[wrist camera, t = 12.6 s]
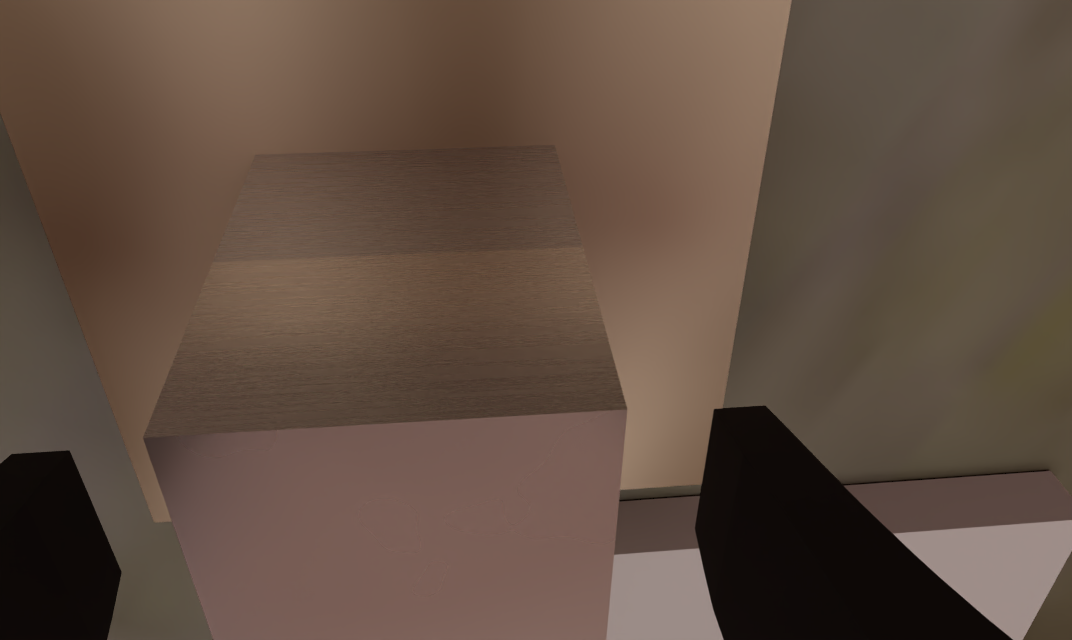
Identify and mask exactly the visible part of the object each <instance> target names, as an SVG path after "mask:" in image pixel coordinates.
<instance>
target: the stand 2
mask: <svg viewBox="0 0 1072 640" xmlns="http://www.w3.org/2000/svg"><path fill="white" fill-rule="evenodd" d="M844 487H845V488H846V489H847V490H848V491H849V492H850V493H851V494H852V495H853V496H854V497H855V498H856V499H857V500H858V501H859V502H860V503H861V504H862V505H864V506H865V507H866V508H867V509H868V510H869V511H870V512H871V513H872V514H873V515H874V516H875V517H876V518H877V519H878V520H879V521H880V522H881V523H882V524H883V525H884V526H885V527H886V528H887V529H888V530H890V531H891V532H892V533H893V534H894V535H895V536H896V537H897V538H898V539H899V540H900V541H901V542H902V543H903V544H904V545H905V546H906V547H907V548H908V549H909V550H911V551H912V552H913V553H914V554H915V555H916V556H917V557H918V558H919V559H920V560H921V561H922V562H923V563H925V564H926V565H927V566H928V567H929V568H930V569H931V570H932V571H933V572H934V573H936V574H937V575H938V576H939V577H940V578H941V579H942V580H943V581H944V582H946V583H947V584H948V585H949V586H950V587H951V588H953V589H954V590H955V591H956V592H957V593H958V594H960V595H961V596H962V597H963V598H964V599H965V600H966V601H968V602H969V603H970V604H971V605H972V606H973V607H975V608H976V609H977V610H978V611H979V612H980V613H981V614H983V615H984V616H985V617H986V618H987V619H989V620H990V621H991V622H992V623H993V624H995V625H996V626H997V627H998V628H999V629H1001V630H1002V631H1003V632H1004V633H1006V634H1007V635H1008V636H1009V637H1011V638H1012V639H1013V640H1023V638H1024V636H1025V634H1026V633H1027V631H1028V629H1029V627H1030V625H1031V624H1032V622H1033V620H1034V618H1035V616H1036V614H1037V613H1038V611H1039V609H1040V607H1041V605H1042V604H1043V602H1044V600H1045V598H1046V596H1047V595H1048V593H1049V591H1050V589H1051V587H1052V585H1053V584H1054V582H1055V580H1056V578H1057V576H1058V575H1059V573H1060V571H1061V569H1062V567H1063V565H1064V564H1065V562H1066V560H1067V558H1068V556H1069V555H1070V553H1071V551H1072V497H1071V495H1070V494H1069V493H1068V492H1067V490H1066V489H1065V488H1064V487H1063V485H1062V484H1061V483H1060V482H1059V480H1058V479H1057V478H1056V477H1055V475H1054V474H1053V473H1052V472H1051V471H1042V472H1028V473H1013V474H999V475H985V476H971V477H957V478H943V479H929V480H915V481H901V482H887V483H873V484H859V485H845V486H844ZM699 499H700V496H690V497H676V498H662V499H648V500H634V501H620V502H619V507H618V517H617V528H616V539H615V550H614V561H613V572H612V583H611V593H610V604H609V615H608V626H607V637H606V640H723V637H722V634H721V631H720V628H719V625H718V622H717V619H716V616H715V614H714V611H713V607H712V603H711V599H710V595H709V590H708V586H707V582H706V578H705V574H704V569H703V565H702V560H701V555H700V551H699V546H698V542H697V537H696V532H695V523H696V517H697V511H698V505H699Z"/></svg>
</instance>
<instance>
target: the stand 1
mask: <svg viewBox="0 0 1072 640" xmlns="http://www.w3.org/2000/svg"><path fill="white" fill-rule="evenodd" d="M791 1H792V0H0V114H1V116H2V119H3V122H4V124H5V127H6V130H7V132H8V135H9V138H10V140H11V143H12V146H13V148H14V151H15V154H16V156H17V159H18V161H19V164H20V167H21V169H22V172H23V175H24V177H25V180H26V183H27V185H28V188H29V191H30V193H31V196H32V199H33V201H34V204H35V207H36V209H37V212H38V215H39V217H40V220H41V223H42V225H43V228H44V231H45V233H46V236H47V239H48V241H49V244H50V247H51V249H52V252H53V255H54V257H55V260H56V263H57V265H58V268H59V271H60V273H61V276H62V279H63V281H64V284H65V286H66V289H67V292H68V294H69V297H70V300H71V302H72V305H73V308H74V310H75V313H76V316H77V318H78V321H79V324H80V326H81V329H82V332H83V334H84V337H85V340H86V342H87V345H88V348H89V350H90V353H91V356H92V358H93V361H94V364H95V366H96V369H97V372H98V374H99V377H100V380H101V382H102V385H103V388H104V390H105V393H106V396H107V398H108V401H109V404H110V406H111V409H112V411H113V414H114V417H115V419H116V422H117V425H118V427H119V430H120V433H121V435H122V438H123V441H124V443H125V446H126V449H127V451H128V454H129V457H130V459H131V462H132V465H133V467H134V470H135V473H136V475H137V478H138V481H139V483H140V486H141V489H142V491H143V494H144V497H145V499H146V502H147V505H148V507H149V510H150V513H151V515H152V518H153V521H154V523H156V522H170V521H172V520H171V517H170V514H169V511H168V508H167V506H166V503H165V500H164V497H163V494H162V491H161V488H160V486H159V483H158V480H157V477H156V474H155V471H154V468H153V466H152V463H151V460H150V457H149V454H148V451H147V448H146V445H145V443H144V440H143V436H144V434H145V431H146V429H147V426H148V424H149V421H150V419H151V416H152V413H153V411H154V408H155V406H156V403H157V401H158V398H159V396H160V393H161V391H162V388H163V386H164V383H165V381H166V378H167V376H168V373H169V371H170V368H171V366H172V363H173V361H174V358H175V356H176V353H177V351H178V348H179V346H180V343H181V341H182V338H183V336H184V333H185V331H186V328H187V326H188V323H189V320H190V318H191V315H192V313H193V310H194V308H195V305H196V303H197V300H198V298H199V295H200V293H201V290H202V288H203V285H204V283H205V280H206V278H207V275H208V273H209V270H210V268H211V265H212V263H213V260H214V258H215V255H216V253H217V250H218V248H219V245H220V243H221V240H222V238H223V235H224V233H225V230H226V228H227V225H228V222H229V220H230V217H231V215H232V212H233V210H234V207H235V205H236V202H237V200H238V197H239V195H240V192H241V190H242V187H243V185H244V182H245V180H246V177H247V175H248V172H249V170H250V167H251V165H252V162H253V160H254V157H255V155H262V154H293V153H324V152H354V151H385V150H416V149H446V148H477V147H508V146H539V145H555V147H556V151H557V154H558V158H559V162H560V165H561V169H562V173H563V176H564V180H565V184H566V187H567V191H568V195H569V198H570V202H571V206H572V209H573V213H574V216H575V220H576V224H577V227H578V231H579V235H580V238H581V242H582V246H583V249H584V253H585V257H586V260H587V264H588V268H589V271H590V275H591V278H592V282H593V286H594V289H595V293H596V297H597V300H598V304H599V308H600V311H601V315H602V319H603V322H604V326H605V329H606V333H607V337H608V340H609V344H610V348H611V351H612V355H613V359H614V362H615V366H616V370H617V373H618V377H619V381H620V384H621V388H622V391H623V395H624V399H625V402H626V406H627V420H626V431H625V441H624V452H623V463H622V474H621V485H620V490H627V489H641V488H655V487H669V486H684V485H698V484H702V480H703V474H704V467H705V461H706V455H707V449H708V443H709V436H710V430H711V424H712V418H713V411H714V409H720V408H723V402H724V396H725V390H726V384H727V378H728V373H729V367H730V361H731V355H732V349H733V343H734V337H735V331H736V325H737V319H738V314H739V308H740V302H741V296H742V290H743V284H744V278H745V272H746V266H747V260H748V255H749V249H750V243H751V237H752V231H753V225H754V219H755V213H756V207H757V202H758V196H759V190H760V184H761V178H762V172H763V166H764V160H765V154H766V148H767V143H768V137H769V131H770V125H771V119H772V113H773V107H774V101H775V95H776V90H777V84H778V78H779V72H780V66H781V60H782V54H783V48H784V42H785V36H786V31H787V25H788V19H789V13H790V7H791Z"/></svg>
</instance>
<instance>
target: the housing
mask: <svg viewBox="0 0 1072 640" xmlns="http://www.w3.org/2000/svg"><path fill="white" fill-rule="evenodd" d="M626 420H627V406H626V402H625V399H624V395H623V391H622V388H621V384H620V381H619V377H618V373H617V370H616V366H615V362H614V359H613V355H612V351H611V348H610V344H609V340H608V337H607V333H606V329H605V326H604V322H603V319H602V315H601V311H600V308H599V304H598V300H597V297H596V293H595V289H594V286H593V282H592V278H591V275H590V271H589V268H588V264H587V260H586V257H585V253H584V249H583V246H582V242H581V238H580V235H579V231H578V227H577V224H576V220H575V216H574V213H573V209H572V206H571V202H570V198H569V195H568V191H567V187H566V184H565V180H564V176H563V173H562V169H561V165H560V162H559V158H558V154H557V151H556V147H555V145H539V146H508V147H477V148H446V149H416V150H385V151H354V152H324V153H293V154H262V155H255V157H254V160H253V162H252V165H251V167H250V170H249V172H248V175H247V177H246V180H245V182H244V185H243V187H242V190H241V192H240V195H239V197H238V200H237V202H236V205H235V207H234V210H233V212H232V215H231V217H230V220H229V222H228V225H227V228H226V230H225V233H224V235H223V238H222V240H221V243H220V245H219V248H218V250H217V253H216V255H215V258H214V260H213V263H212V265H211V268H210V270H209V273H208V275H207V278H206V280H205V283H204V285H203V288H202V290H201V293H200V295H199V298H198V300H197V303H196V305H195V308H194V310H193V313H192V315H191V318H190V320H189V323H188V326H187V328H186V331H185V333H184V336H183V338H182V341H181V343H180V346H179V348H178V351H177V353H176V356H175V358H174V361H173V363H172V366H171V368H170V371H169V373H168V376H167V378H166V381H165V383H164V386H163V388H162V391H161V393H160V396H159V398H158V401H157V403H156V406H155V408H154V411H153V413H152V416H151V419H150V421H149V424H148V426H147V429H146V431H145V434H144V436H143V440H144V443H145V445H146V448H147V451H148V454H149V457H150V460H151V463H152V466H153V468H154V471H155V474H156V477H157V480H158V483H159V486H160V488H161V491H162V494H163V497H164V500H165V503H166V506H167V508H168V511H169V514H170V517H171V520H172V523H173V526H174V528H175V531H176V534H177V537H178V540H179V543H180V546H181V549H182V551H183V554H184V557H185V560H186V563H187V566H188V569H189V571H190V574H191V577H192V580H193V583H194V586H195V589H196V591H197V594H198V597H199V600H200V603H201V606H202V609H203V611H204V614H205V617H206V620H207V623H208V626H209V629H210V632H211V634H212V637H213V640H606V637H607V626H608V615H609V604H610V593H611V583H612V572H613V561H614V550H615V539H616V528H617V517H618V507H619V496H620V485H621V474H622V463H623V452H624V441H625V431H626Z"/></svg>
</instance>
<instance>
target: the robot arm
mask: <svg viewBox="0 0 1072 640" xmlns="http://www.w3.org/2000/svg"><path fill="white" fill-rule="evenodd" d="M695 532H696V537H697V542H698V546H699V551H700V555H701V560H702V565H703V569H704V574H705V578H706V582H707V586H708V590H709V595H710V599H711V603H712V607H713V611H714V614H715V616H716V619H717V622H718V625H719V628H720V631H721V634H722V637H723V640H1013V639H1012V638H1011V637H1009V636H1008V635H1007V634H1006V633H1004V632H1003V631H1002V630H1001V629H999V628H998V627H997V626H996V625H995V624H993V623H992V622H991V621H990V620H989V619H987V618H986V617H985V616H984V615H983V614H981V613H980V612H979V611H978V610H977V609H976V608H975V607H973V606H972V605H971V604H970V603H969V602H968V601H966V600H965V599H964V598H963V597H962V596H961V595H960V594H958V593H957V592H956V591H955V590H954V589H953V588H951V587H950V586H949V585H948V584H947V583H946V582H944V581H943V580H942V579H941V578H940V577H939V576H938V575H937V574H936V573H934V572H933V571H932V570H931V569H930V568H929V567H928V566H927V565H926V564H925V563H923V562H922V561H921V560H920V559H919V558H918V557H917V556H916V555H915V554H914V553H913V552H912V551H911V550H909V549H908V548H907V547H906V546H905V545H904V544H903V543H902V542H901V541H900V540H899V539H898V538H897V537H896V536H895V535H894V534H893V533H892V532H891V531H890V530H888V529H887V528H886V527H885V526H884V525H883V524H882V523H881V522H880V521H879V520H878V519H877V518H876V517H875V516H874V515H873V514H872V513H871V512H870V511H869V510H868V509H867V508H866V507H865V506H864V505H862V504H861V503H860V502H859V501H858V500H857V499H856V498H855V497H854V496H853V495H852V494H851V493H850V492H849V491H848V490H847V489H846V488H845V487H844V486H843V485H842V484H841V483H840V481H839V480H838V479H837V478H836V477H835V476H834V475H833V474H832V473H831V472H830V471H829V470H828V469H827V468H826V467H825V466H824V465H823V464H822V463H821V462H820V461H819V460H818V459H817V458H816V457H815V456H814V455H813V454H812V453H811V452H810V451H809V450H808V449H807V448H806V447H805V446H804V445H803V444H802V443H801V441H800V440H799V439H798V438H797V437H796V436H795V435H794V434H793V433H792V432H791V431H790V430H789V429H788V428H787V427H786V426H785V425H784V424H783V423H782V422H781V421H780V420H779V419H778V418H777V417H776V416H775V415H774V414H773V413H772V412H771V411H770V410H769V409H768V408H767V407H766V406H751V407H736V408H720V409H714V411H713V418H712V424H711V430H710V436H709V443H708V449H707V455H706V461H705V467H704V474H703V480H702V486H701V492H700V499H699V505H698V511H697V517H696V523H695ZM120 577H121V570H120V567H119V565H118V563H117V560H116V558H115V556H114V553H113V551H112V549H111V546H110V544H109V542H108V539H107V537H106V535H105V532H104V530H103V528H102V525H101V523H100V521H99V518H98V516H97V514H96V511H95V509H94V507H93V504H92V502H91V500H90V497H89V495H88V492H87V490H86V488H85V485H84V483H83V481H82V478H81V476H80V474H79V471H78V469H77V467H76V464H75V462H74V460H73V457H72V455H71V453H70V450H69V451H53V452H38V453H22V454H11V455H10V456H9V457H8V458H7V459H6V460H4V461H3V462H2V463H1V464H0V640H107V637H108V633H109V629H110V625H111V621H112V616H113V611H114V606H115V601H116V596H117V592H118V587H119V582H120Z"/></svg>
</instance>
